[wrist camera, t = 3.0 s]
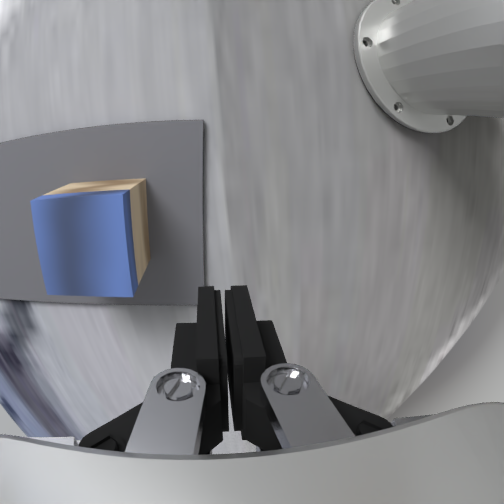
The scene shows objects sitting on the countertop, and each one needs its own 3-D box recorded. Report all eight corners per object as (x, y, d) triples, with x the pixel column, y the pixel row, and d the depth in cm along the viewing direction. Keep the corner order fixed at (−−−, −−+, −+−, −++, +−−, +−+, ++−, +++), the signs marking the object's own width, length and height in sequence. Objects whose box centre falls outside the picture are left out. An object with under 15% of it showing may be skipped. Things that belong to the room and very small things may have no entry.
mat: (203, 120, 20) (203, 119, 20) (205, 301, 25) (204, 304, 25) (-57, 158, 17) (-60, 159, 17) (-33, 293, 22) (-36, 295, 22)
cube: (145, 178, 21) (122, 194, 15) (150, 258, 23) (133, 297, 18) (70, 183, 20) (30, 200, 15) (79, 259, 22) (47, 294, 17)
